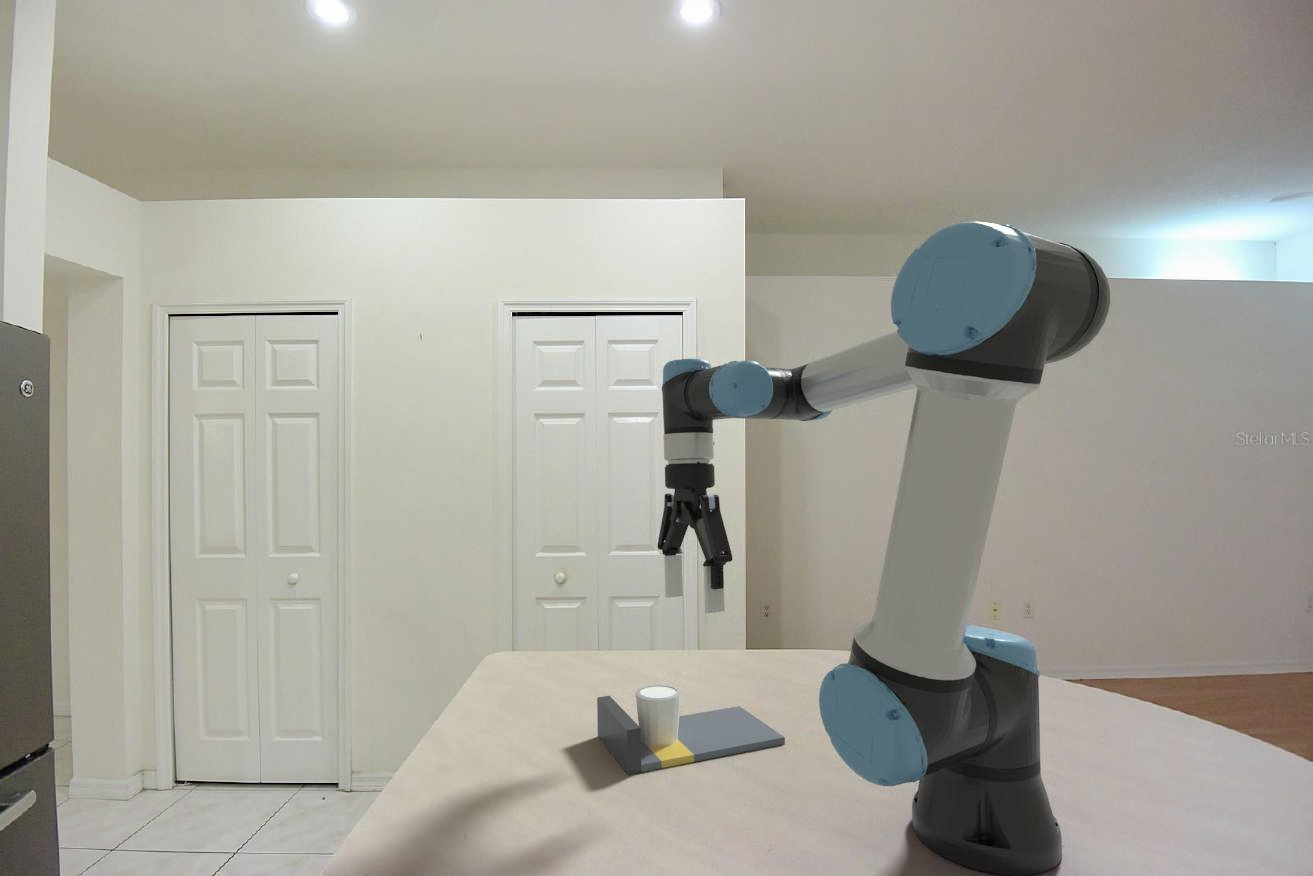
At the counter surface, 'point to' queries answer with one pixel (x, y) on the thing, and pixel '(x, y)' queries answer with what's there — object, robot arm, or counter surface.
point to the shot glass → (658, 714)
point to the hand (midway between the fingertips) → (693, 604)
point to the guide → (682, 737)
